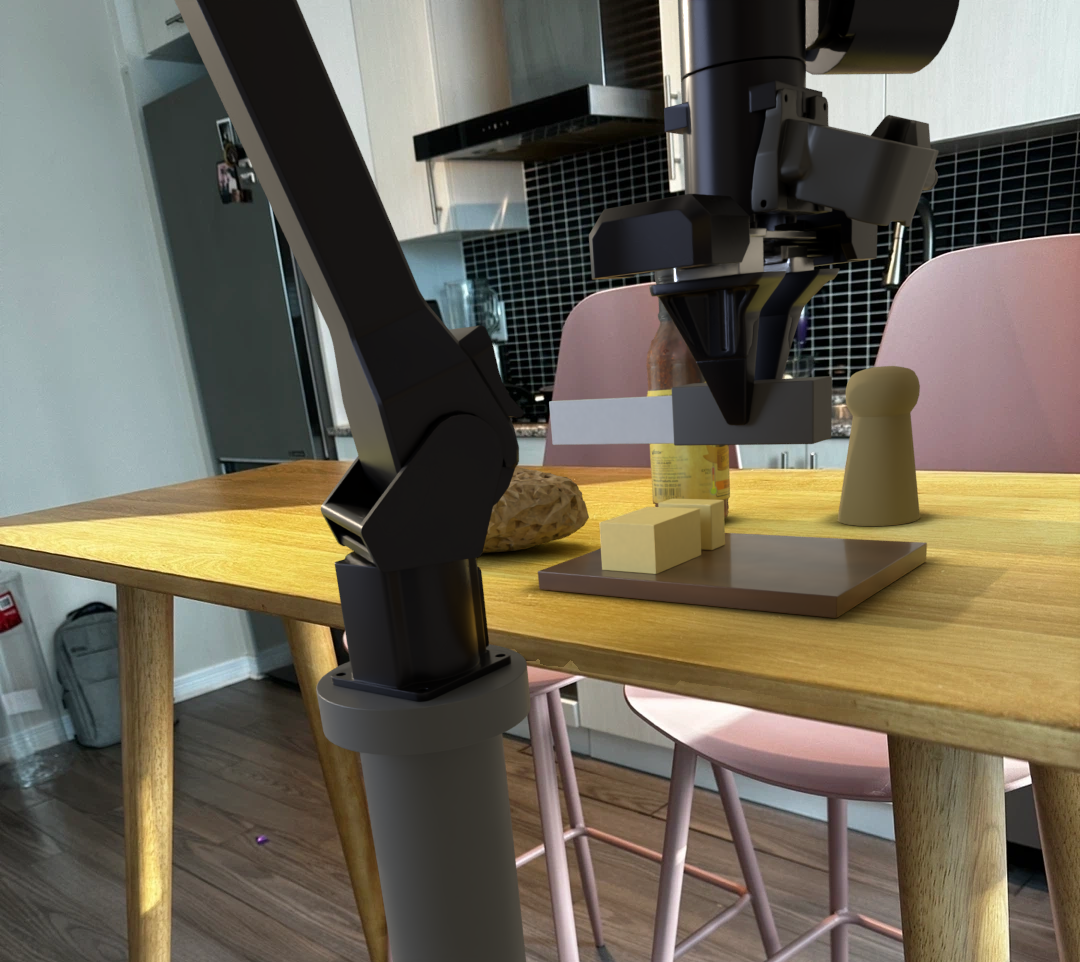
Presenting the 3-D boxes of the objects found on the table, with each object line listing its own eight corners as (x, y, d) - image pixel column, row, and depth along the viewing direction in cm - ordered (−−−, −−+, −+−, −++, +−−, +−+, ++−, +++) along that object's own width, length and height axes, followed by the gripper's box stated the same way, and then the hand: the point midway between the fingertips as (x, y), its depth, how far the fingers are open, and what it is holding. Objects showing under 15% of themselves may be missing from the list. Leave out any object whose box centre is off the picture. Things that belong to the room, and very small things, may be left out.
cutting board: (836, 618, 54) (837, 596, 54) (538, 589, 66) (537, 571, 66) (926, 561, 64) (927, 542, 64) (654, 545, 76) (653, 529, 76)
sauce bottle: (736, 525, 81) (731, 249, 74) (657, 531, 81) (644, 257, 74) (723, 511, 87) (717, 255, 80) (649, 518, 87) (637, 263, 80)
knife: (813, 444, 50) (813, 380, 49) (543, 447, 61) (538, 394, 60) (832, 438, 52) (832, 376, 51) (565, 442, 62) (561, 390, 61)
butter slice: (712, 550, 67) (711, 504, 66) (659, 547, 69) (657, 502, 68) (725, 545, 68) (724, 499, 67) (673, 542, 71) (671, 498, 70)
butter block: (656, 574, 62) (654, 524, 61) (601, 570, 64) (598, 522, 63) (701, 555, 66) (700, 508, 65) (648, 551, 68) (646, 506, 67)
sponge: (338, 567, 85) (456, 541, 68) (331, 471, 84) (450, 421, 68) (475, 566, 92) (612, 543, 76) (470, 478, 91) (608, 435, 75)
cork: (933, 513, 78) (941, 361, 75) (898, 528, 74) (904, 368, 71) (859, 509, 82) (863, 365, 79) (822, 523, 78) (824, 372, 75)
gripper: (820, -8, 36) (819, 446, 42) (986, 59, 49) (968, 396, 55) (569, 66, 43) (596, 448, 48) (774, 107, 56) (777, 403, 62)
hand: (749, 421), depth 53 cm, fingers closed on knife, 2 cm apart
